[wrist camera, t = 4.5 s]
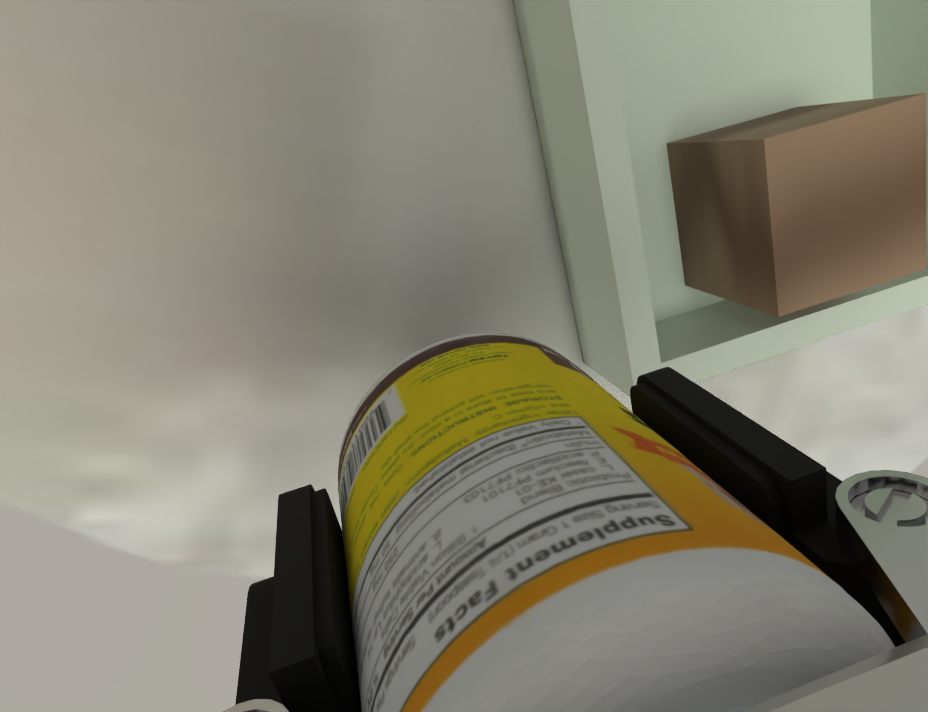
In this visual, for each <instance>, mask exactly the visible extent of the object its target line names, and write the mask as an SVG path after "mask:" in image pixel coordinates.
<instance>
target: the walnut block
mask: <svg viewBox="0 0 928 712" xmlns="http://www.w3.org/2000/svg"><path fill="white" fill-rule="evenodd" d="M666 144H667V152H668V159H669V167H670V175H671V182H672V190H673V197H674V205H675V213H676V220H677V228H678V235H679V243H680V251H681V258H682V266H683V274H684V281H685V286H688V287H691V288H694V289H697V290H700V291H703V292H706V293H709V294H712V295H715V296H718V297H721V298H724V299H727V300H730V301H733V302H736V303H739V304H742V305H744V306H747V307H750V308H753V309H756V310H759V311H762V312H765V313H768V314H771V315H774V316H777V317H780V316H783V315H786V314H789V313H793V312H796V311H799V310H802V309H805V308H808V307H811V306H814V305H817V304H820V303H823V302H826V301H829V300H832V299H835V298H838V297H841V296H845V295H848V294H851V293H854V292H857V291H860V290H863V289H866V288H869V287H872V286H875V285H878V284H881V283H884V282H887V281H890V280H893V279H897V278H900V277H903V276H906V275H909V274H912V273H915V272H918V271H921V270H924V269H926V93H923V94H913V95H904V96H895V97H885V98H876V99H866V100H857V101H848V102H838V103H829V104H820V105H810V106H801V107H795V108H792V109H788V110H785V111H781V112H777V113H774V114H770V115H767V116H763V117H759V118H756V119H752V120H749V121H745V122H742V123H738V124H734V125H731V126H727V127H724V128H720V129H716V130H713V131H709V132H706V133H702V134H698V135H695V136H691V137H688V138H684V139H681V140H677V141H673V142H670V143H666Z"/></svg>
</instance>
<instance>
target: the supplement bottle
mask: <svg viewBox="0 0 928 712" xmlns="http://www.w3.org/2000/svg"><path fill="white" fill-rule="evenodd" d="M338 492H339V502H340V511H341V521H342V536H343V543H344V553H345V561H346V570H347V581H348V591H349V602H350V611H351V620H352V632H353V638H354V644H355V654H356V663H357V672H358V681H359V691H360V700H361V710H362V712H740V711H742V710H744V709H747V708H749V707H752V706H754V705H756V704H759V703H761V702H764V701H766V700H768V699H771V698H773V697H776V696H778V695H780V694H783V693H785V692H788V691H790V690H792V689H795V688H797V687H800V686H802V685H805V684H807V683H809V682H812V681H814V680H817V679H819V678H822V677H824V676H827V675H829V674H831V673H834V672H836V671H839V670H841V669H844V668H846V667H848V666H851V665H853V664H856V663H858V662H861V661H863V660H866V659H868V658H870V657H873V656H875V655H878V654H880V653H883V652H885V651H888V650H890V649H892V648H895V646H894V644H893V642H892V641H891V639H890V638H889V636H888V635H887V633H886V632H885V631H884V629H883V628H882V627H881V626H880V624H879V623H878V622H877V621H876V620H875V619H874V618H873V617H872V616H871V615H870V614H869V613H868V612H867V611H866V610H865V609H864V608H863V607H862V606H861V605H860V604H859V603H858V602H857V601H856V600H854V599H853V598H852V597H851V596H850V595H849V594H848V593H846V592H845V591H844V590H843V588H842V587H841V586H839V585H838V584H837V583H836V582H834V581H833V580H832V579H831V578H829V577H828V576H827V575H826V574H825V573H824V572H822V571H821V570H820V569H819V568H818V567H817V566H815V565H814V564H813V563H812V562H811V561H810V560H808V559H807V558H806V557H805V556H804V555H803V554H801V553H800V552H799V551H798V550H796V549H795V548H794V547H793V546H792V545H790V544H789V543H788V542H787V541H786V540H784V539H783V538H782V537H781V536H780V535H778V534H777V533H776V532H775V531H774V530H772V529H771V528H770V527H769V526H768V525H766V524H765V523H764V522H763V521H762V520H760V519H759V518H758V517H757V516H756V515H754V514H753V513H752V512H751V511H750V510H748V509H747V508H746V507H745V506H744V505H742V504H741V503H740V502H739V501H738V500H736V499H735V498H734V497H733V496H732V495H730V494H729V493H728V492H727V491H726V490H724V489H723V488H722V487H721V486H720V485H718V484H717V483H716V482H715V481H714V480H712V479H711V478H710V477H709V476H708V475H706V474H705V473H704V472H703V471H701V470H700V469H699V468H698V467H696V466H695V465H694V464H693V463H692V462H690V461H689V460H688V459H687V458H686V457H685V456H684V455H683V454H681V453H680V452H679V451H678V450H677V449H675V448H674V447H673V446H672V445H670V444H669V443H668V442H667V441H665V440H664V439H663V438H662V437H661V436H660V435H659V434H658V433H656V432H655V431H653V430H652V429H651V428H650V427H649V426H648V425H646V424H645V423H644V422H643V421H642V420H640V419H639V418H638V417H637V416H636V415H634V414H633V413H632V412H631V411H629V410H628V409H627V408H626V407H625V406H623V405H622V404H621V403H620V402H619V401H618V400H617V399H615V398H614V397H613V396H612V395H611V394H609V393H608V392H607V391H606V390H604V389H603V388H602V387H601V386H600V385H598V384H597V383H596V382H595V381H594V380H593V379H592V378H591V377H589V376H588V375H587V374H586V373H585V372H583V371H582V370H581V369H579V368H578V367H577V366H576V365H574V364H573V363H572V362H570V361H569V360H567V359H566V358H565V357H563V356H562V355H561V354H559V353H557V352H556V351H554V350H552V349H551V348H549V347H547V346H545V345H543V344H541V343H538V342H536V341H533V340H530V339H527V338H523V337H520V336H515V335H510V334H501V333H473V334H466V335H460V336H455V337H451V338H447V339H444V340H441V341H438V342H436V343H433V344H430V345H428V346H426V347H424V348H422V349H420V350H417V351H416V352H414V353H412V354H410V355H409V356H407V357H406V358H404V359H402V360H401V361H399V362H398V363H397V364H396V365H394V366H393V367H392V368H391V369H389V370H388V371H387V372H386V373H385V374H384V375H383V376H382V377H381V378H380V379H379V380H378V381H377V382H376V383H375V384H374V385H373V386H372V387H371V388H370V390H369V391H368V392H367V394H366V395H365V396H364V398H363V399H362V401H361V402H360V404H359V405H358V407H357V408H356V410H355V412H354V414H353V416H352V418H351V420H350V422H349V425H348V427H347V430H346V433H345V436H344V439H343V442H342V446H341V451H340V456H339V468H338Z"/></svg>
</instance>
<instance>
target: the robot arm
mask: <svg viewBox="0 0 928 712" xmlns="http://www.w3.org/2000/svg"><path fill="white" fill-rule="evenodd" d="M630 397H631V404H632V411H633V414H634V415H636V416H637V417H638V418H639V419H640V420H642V421H643V422H644V423H645V424H646V425H648V426H649V427H650V428H651V429H652V430H653V431H655V432H656V433H658V434H659V435H660V436H661V437H662V438H663V439H664V440H665V441H667V442H668V443H669V444H670V445H672V446H673V447H674V448H675V449H677V450H678V451H679V452H680V453H681V454H683V455H684V456H685V457H686V458H687V459H688V460H689V461H690V462H692V463H693V464H694V465H695V466H696V467H698V468H699V469H700V470H701V471H703V472H704V473H705V474H706V475H708V476H709V477H710V478H711V479H712V480H714V481H715V482H716V483H717V484H718V485H720V486H721V487H722V488H723V489H724V490H726V491H727V492H728V493H729V494H730V495H732V496H733V497H734V498H735V499H736V500H738V501H739V502H740V503H741V504H742V505H744V506H745V507H746V508H747V509H748V510H750V511H751V512H752V513H753V514H754V515H756V516H757V517H758V518H759V519H760V520H762V521H763V522H764V523H765V524H766V525H768V526H769V527H770V528H771V529H772V530H774V531H775V532H776V533H777V534H778V535H780V536H781V537H782V538H783V539H784V540H786V541H787V542H788V543H789V544H790V545H792V546H793V547H794V548H795V549H796V550H798V551H799V552H800V553H801V554H803V555H804V556H805V557H806V558H807V559H808V560H810V561H811V562H812V563H813V564H814V565H815V566H817V567H818V568H819V569H820V570H821V571H822V572H824V573H825V574H826V575H827V576H828V577H829V578H831V579H832V580H833V581H834V582H836V583H837V584H838V585H839V586H841V587H842V588H843V590H844V591H845V592H846V593H848V594H849V595H850V596H851V597H852V598H853V599H854V600H856V601H857V602H858V603H859V604H860V605H861V606H862V607H863V608H864V609H865V610H866V611H867V612H868V613H869V614H870V615H871V616H872V617H873V618H874V619H875V620H876V621H877V622H878V623H879V624H880V626H881V627H882V628H883V629H884V631H885V632H886V633H887V635H888V636H889V638H890V639H891V641H892V642H893V644H894V646H895V648H892V649H890V650H888V651H885V652H883V653H880V654H878V655H875V656H873V657H870V658H868V659H866V660H863V661H861V662H858V663H856V664H853V665H851V666H848V667H846V668H844V669H841V670H839V671H836V672H834V673H831V674H829V675H827V676H824V677H822V678H819V679H817V680H814V681H812V682H809V683H807V684H805V685H802V686H800V687H797V688H795V689H792V690H790V691H788V692H785V693H783V694H780V695H778V696H776V697H773V698H771V699H768V700H766V701H764V702H761V703H759V704H756V705H754V706H752V707H749V708H747V709H744V710H742V711H740V712H928V478H926V477H923V476H919V475H915V474H911V473H908V472H900V471H891V470H880V471H868V472H864V473H859V474H855V475H853V476H851V477H849V478H847V479H845V480H844V481H843V482H842V481H841V480H839V479H838V478H836V477H835V476H833V475H832V474H830V473H829V472H827V471H826V468H825V467H824V466H822V465H821V464H819V463H818V462H816V461H814V460H813V459H811V458H810V457H808V456H807V455H805V454H804V453H802V452H801V451H799V450H797V449H796V448H794V447H793V446H791V445H790V444H788V443H787V442H785V441H784V440H782V439H780V438H779V437H777V436H776V435H774V434H773V433H771V432H770V431H768V430H766V429H765V428H763V427H762V426H760V425H759V424H757V423H756V422H754V421H753V420H751V419H749V418H748V417H746V416H745V415H743V414H742V413H740V412H739V411H737V410H736V409H734V408H732V407H731V406H729V405H728V404H726V403H725V402H723V401H722V400H720V399H719V398H717V397H715V396H714V395H712V394H711V393H709V392H708V391H706V390H705V389H703V388H702V387H700V386H698V385H697V384H695V383H694V382H692V381H691V380H689V379H688V378H686V377H685V376H683V375H681V374H680V373H678V372H677V371H675V370H674V369H672V368H670V367H664V368H661V369H658V370H655V371H652V372H649V373H646V374H643V375H640V376H639V377H638V378H637V385H634V386H632V387H631V388H630ZM223 712H362V710H361V700H360V691H359V681H358V672H357V663H356V654H355V644H354V638H353V632H352V620H351V611H350V602H349V591H348V581H347V570H346V561H345V553H344V543H343V536H342V530H341V527H340V525H339V522H338V519H337V517H336V514H335V511H334V509H333V506H332V503H331V501H330V498H329V495H328V493H327V491H326V489H325V488H324V489H321V490H318V491H315V490H314V488H313V487H312V485H311V484H310V485H307V486H304V487H301V488H298V489H295V490H292V491H289V492H286V493H283V494H280V495H279V498H278V515H277V533H276V550H275V568H274V577H271V578H268V579H265V580H262V581H259V582H257V583H254V584H252V585H251V586H250V587H249V591H248V597H247V607H246V615H245V624H244V633H243V643H242V652H241V660H240V669H239V678H238V687H237V696H236V705H235V706H233V707H231V708H229V709H227V710H225V711H223Z"/></svg>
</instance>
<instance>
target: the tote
mask: <svg viewBox="0 0 928 712" xmlns="http://www.w3.org/2000/svg"><path fill="white" fill-rule="evenodd" d="M513 1H514V7H515V12H516V17H517V22H518V27H519V32H520V37H521V43H522V48H523V53H524V58H525V63H526V68H527V73H528V79H529V84H530V89H531V94H532V99H533V104H534V109H535V115H536V120H537V125H538V130H539V135H540V140H541V145H542V151H543V156H544V161H545V166H546V171H547V176H548V181H549V187H550V192H551V197H552V202H553V207H554V212H555V217H556V223H557V228H558V233H559V238H560V243H561V248H562V253H563V259H564V264H565V269H566V274H567V279H568V284H569V289H570V295H571V300H572V305H573V310H574V315H575V320H576V325H577V331H578V336H579V341H580V346H581V351H582V356H583V361H584V363H585V364H586V365H588V366H589V367H590V368H592V369H593V370H594V371H596V372H597V373H598V374H600V375H601V376H602V377H604V378H605V379H607V380H608V381H609V382H611V383H612V384H613V385H615V386H616V387H617V388H619V389H620V390H621V391H623V392H624V393H625V394H627V395H628V396H629V397H630V388H631V387H632V386H634V385H637V378H638V377H639V376H640V375H643V374H646V373H649V372H652V371H655V370H658V369H661V368H664V367H670V368H672V369H674V370H675V371H677V372H678V373H680V374H681V375H683V376H685V377H686V378H688V379H689V380H691V381H692V382H697V381H700V380H703V379H706V378H709V377H712V376H715V375H718V374H721V373H724V372H727V371H730V370H733V369H736V368H739V367H742V366H745V365H748V364H751V363H754V362H757V361H760V360H763V359H766V358H769V357H772V356H775V355H778V354H780V353H783V352H786V351H789V350H792V349H795V348H798V347H801V346H804V345H807V344H810V343H813V342H816V341H819V340H822V339H825V338H828V337H831V336H834V335H837V334H840V333H843V332H846V331H849V330H852V329H855V328H858V327H861V326H864V325H867V324H870V323H873V322H876V321H879V320H882V319H885V318H888V317H891V316H894V315H897V314H900V313H903V312H906V311H909V310H912V309H915V308H918V307H921V306H924V305H926V304H928V0H513ZM923 93H926V269H924V270H921V271H918V272H915V273H912V274H909V275H906V276H903V277H900V278H897V279H893V280H890V281H887V282H884V283H881V284H878V285H875V286H872V287H869V288H866V289H863V290H860V291H857V292H854V293H851V294H848V295H845V296H841V297H838V298H835V299H832V300H829V301H826V302H823V303H820V304H817V305H814V306H811V307H808V308H805V309H802V310H799V311H796V312H793V313H789V314H786V315H783V316H780V317H777V316H774V315H771V314H768V313H765V312H762V311H759V310H756V309H753V308H750V307H747V306H744V305H742V304H739V303H736V302H733V301H730V300H727V299H724V298H721V297H718V296H715V295H712V294H709V293H706V292H703V291H700V290H697V289H694V288H691V287H688V286H685V281H684V274H683V266H682V258H681V251H680V243H679V235H678V228H677V220H676V213H675V205H674V197H673V190H672V182H671V175H670V167H669V159H668V152H667V144H666V143H670V142H673V141H677V140H681V139H684V138H688V137H691V136H695V135H698V134H702V133H706V132H709V131H713V130H716V129H720V128H724V127H727V126H731V125H734V124H738V123H742V122H745V121H749V120H752V119H756V118H759V117H763V116H767V115H770V114H774V113H777V112H781V111H785V110H788V109H792V108H795V107H801V106H810V105H820V104H829V103H838V102H848V101H857V100H866V99H876V98H885V97H895V96H904V95H913V94H923Z"/></svg>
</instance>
